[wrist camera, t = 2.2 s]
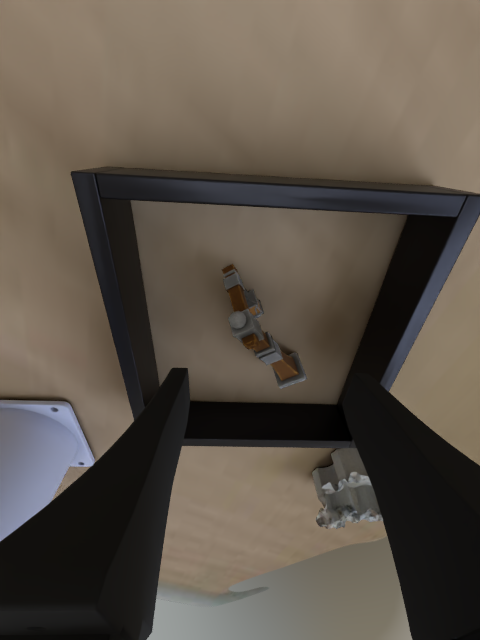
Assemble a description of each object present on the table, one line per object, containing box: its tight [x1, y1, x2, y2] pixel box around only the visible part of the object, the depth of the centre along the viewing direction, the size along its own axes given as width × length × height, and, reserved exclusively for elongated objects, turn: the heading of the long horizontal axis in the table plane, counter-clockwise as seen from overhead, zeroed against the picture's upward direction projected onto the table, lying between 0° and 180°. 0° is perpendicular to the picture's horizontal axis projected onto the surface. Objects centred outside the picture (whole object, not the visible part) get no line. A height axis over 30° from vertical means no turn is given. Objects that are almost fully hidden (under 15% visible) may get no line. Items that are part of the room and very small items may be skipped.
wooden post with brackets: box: [222, 264, 307, 389], centre depth 14 cm, size 2×8×4 cm, turn 28°
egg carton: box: [312, 448, 383, 529], centre depth 23 cm, size 11×8×4 cm
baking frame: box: [71, 167, 480, 448], centre depth 15 cm, size 15×16×3 cm
